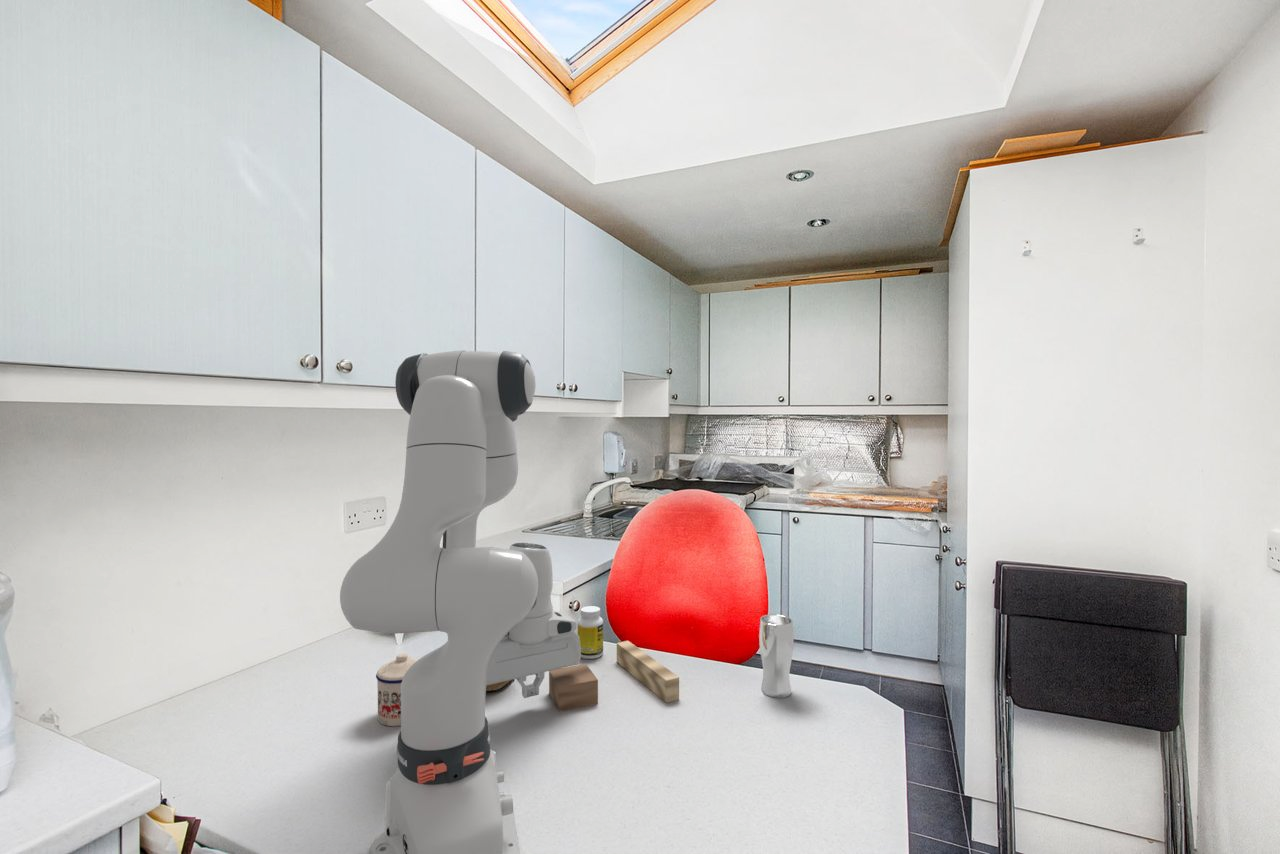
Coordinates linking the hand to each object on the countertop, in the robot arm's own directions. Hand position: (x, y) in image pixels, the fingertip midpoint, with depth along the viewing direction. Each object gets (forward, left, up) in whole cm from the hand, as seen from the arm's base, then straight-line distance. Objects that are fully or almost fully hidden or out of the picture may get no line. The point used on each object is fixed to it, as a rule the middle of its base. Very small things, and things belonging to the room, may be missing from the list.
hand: (530, 695), depth 113 cm
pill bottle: (+18, -21, -3) cm, 28 cm away
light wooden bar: (0, -26, -3) cm, 26 cm away
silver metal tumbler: (-18, -47, -3) cm, 50 cm away
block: (0, -9, -3) cm, 9 cm away
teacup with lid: (+9, +21, -3) cm, 23 cm away
